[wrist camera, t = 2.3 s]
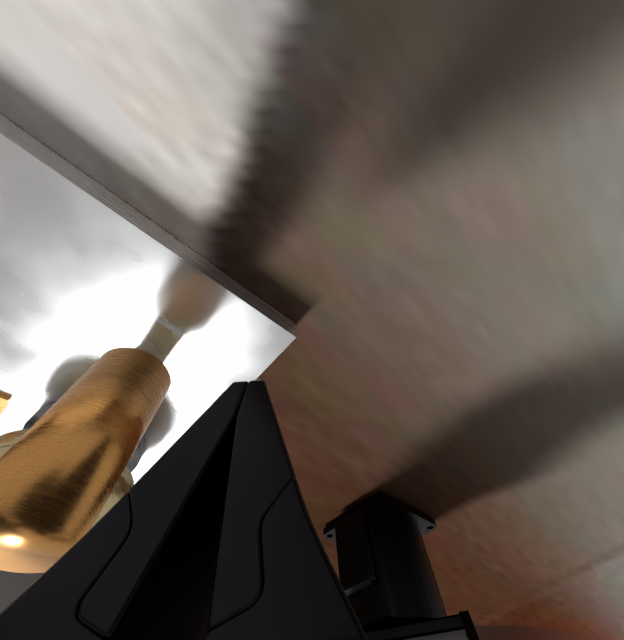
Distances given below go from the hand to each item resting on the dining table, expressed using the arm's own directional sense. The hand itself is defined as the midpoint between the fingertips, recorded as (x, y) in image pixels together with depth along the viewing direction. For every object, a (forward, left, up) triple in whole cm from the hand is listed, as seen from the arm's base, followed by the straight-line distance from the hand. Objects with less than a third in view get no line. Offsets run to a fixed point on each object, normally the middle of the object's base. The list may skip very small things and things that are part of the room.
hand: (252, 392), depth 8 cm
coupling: (+3, +9, -3) cm, 10 cm away
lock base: (+6, +9, -6) cm, 13 cm away
